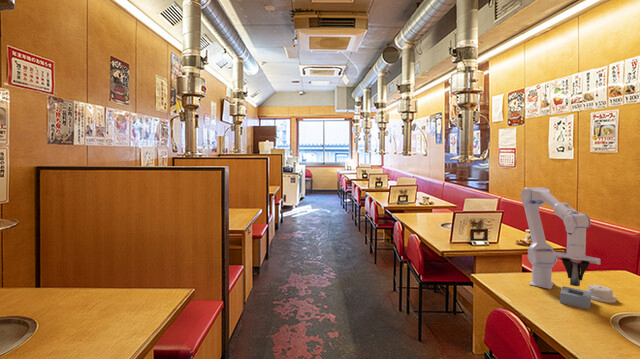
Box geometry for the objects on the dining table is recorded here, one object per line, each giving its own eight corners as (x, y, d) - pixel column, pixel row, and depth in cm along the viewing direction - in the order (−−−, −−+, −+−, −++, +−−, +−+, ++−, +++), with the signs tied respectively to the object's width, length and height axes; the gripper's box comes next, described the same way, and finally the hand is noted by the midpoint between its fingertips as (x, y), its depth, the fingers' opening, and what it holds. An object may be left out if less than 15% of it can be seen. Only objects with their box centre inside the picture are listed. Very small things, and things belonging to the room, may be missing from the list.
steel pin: (570, 282, 129) (571, 260, 129) (580, 284, 127) (580, 262, 127) (569, 284, 127) (570, 262, 127) (579, 286, 125) (579, 263, 124)
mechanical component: (585, 291, 139) (583, 298, 131) (585, 281, 138) (583, 288, 131) (616, 297, 132) (616, 305, 125) (616, 287, 132) (616, 294, 124)
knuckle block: (562, 295, 134) (562, 286, 134) (591, 301, 128) (591, 291, 128) (559, 302, 127) (560, 292, 127) (589, 309, 121) (590, 299, 121)
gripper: (551, 243, 128) (551, 277, 129) (600, 249, 118) (599, 286, 119) (554, 240, 134) (553, 272, 134) (601, 245, 124) (599, 280, 124)
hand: (575, 278), depth 127 cm, fingers closed on steel pin, 3 cm apart
